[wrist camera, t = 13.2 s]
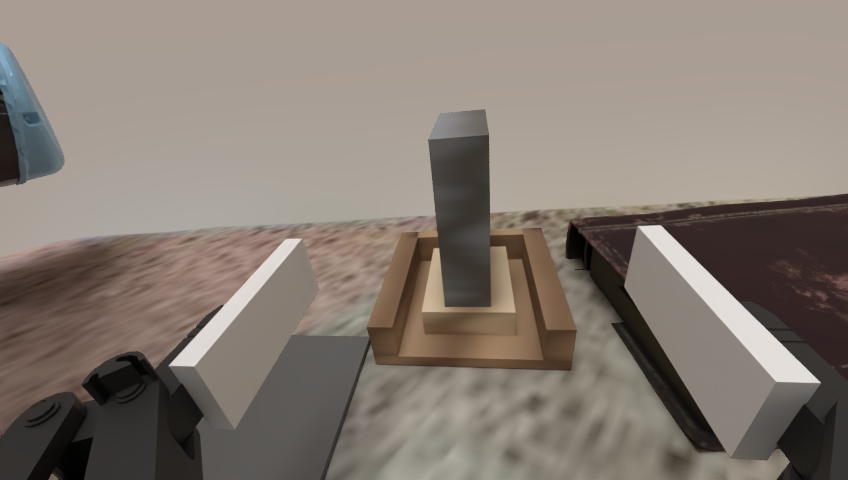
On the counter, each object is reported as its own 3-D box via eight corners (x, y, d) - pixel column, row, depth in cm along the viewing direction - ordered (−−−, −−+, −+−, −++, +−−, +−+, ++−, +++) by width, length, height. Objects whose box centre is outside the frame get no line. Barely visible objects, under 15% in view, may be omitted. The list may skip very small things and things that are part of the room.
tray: (376, 363, 23) (366, 327, 21) (406, 262, 33) (402, 232, 31) (570, 370, 21) (576, 329, 19) (538, 260, 31) (540, 228, 29)
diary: (562, 260, 32) (567, 211, 30) (845, 235, 31) (874, 182, 28) (706, 478, 16) (743, 407, 13) (1324, 443, 14) (1489, 359, 12)
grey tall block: (424, 334, 24) (397, 144, 17) (435, 267, 30) (419, 114, 24) (514, 335, 23) (521, 134, 16) (505, 266, 29) (507, 106, 23)
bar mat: (134, 483, 18) (130, 479, 17) (245, 338, 26) (243, 334, 26) (315, 502, 16) (313, 498, 16) (370, 340, 25) (369, 336, 24)
